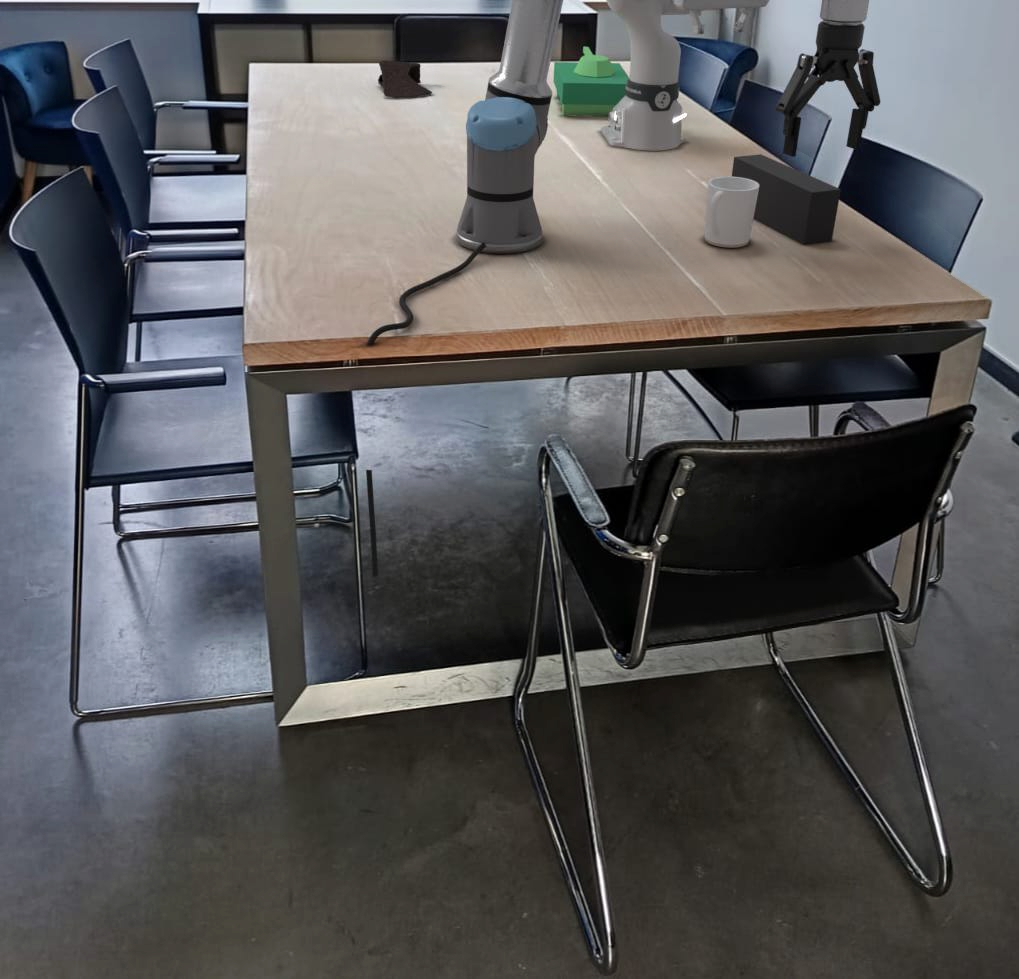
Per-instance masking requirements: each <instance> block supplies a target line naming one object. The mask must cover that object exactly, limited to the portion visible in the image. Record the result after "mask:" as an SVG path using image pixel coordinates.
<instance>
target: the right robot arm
mask: <svg viewBox="0 0 1019 979" xmlns="http://www.w3.org/2000/svg"><path fill="white" fill-rule="evenodd" d="M769 2H770V0H606V3H607V6H608V7H609V9H610V10H611V11H612V12H613V13H614V14H615V15H616V16H618V18H619V19H620V20H621V22H622V23H623V25H624V27H625V29H626V31H627V35H628V39H629V44H630V64H629V79H627V83H626V84H627V85H626V87H625V88H626V89H625V96H624V97H623V98H622V99H621V101H620V102H619V103H618V104H617V105H616V106H615V107H614V108H613V110H612V112H609V115H608V116H607V118H608V119H607V120H608V123H610V124H609V125H605V126H602V127H601V128H600V132H601V134H602V135H603V136H604V138H605V139H606V141H607V143H608V144H609V145H610V146H612V147H617V148H627V149H632V150H639V151H668V150H672V149H673V150H674V149H676V148H678V147H679V146H680V145H681V144H683V143H686V142H687V141H686V140H687V138H686V136H685V135H682V131H683V130H682V129H683V119H684V118H686V117H687V113H686V112H684V113H683V106H682V105H681V103H679V101H678V99H679V98H680V97H679V95H680V90H681V89H680V81H679V75H680V74H679V73H680V66H681V65H680V64H681V53H682V49H681V45H680V43H679V41H678V39H676V38H675V37H674V36H673V35H671V34H670V33H668V32H667V31H665V30H663V27H662V16H679V15H680V16H681V15H683V16H684V15H689V17H690V20H691V22H692V24H693V27H692V34H693V35H696V36H697V35H703V34H704V33H705V27H706V26H705V24H702V22H701V19H700V17H701V16H702V11H705V10H722V9H723V10H724V9H739V12H740V13H741V14H740V16H739V18H738V19H737V21H734V22H733V31H734V32H735V33H744V32H745V28H746V23H747V22H748V21H749V19H750V17H751V15H752V14H753V8H765V7H766V6H767V5H768V4H769Z"/></svg>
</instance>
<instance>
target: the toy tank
mask: <svg viewBox="0 0 1019 979" xmlns="http://www.w3.org/2000/svg"><path fill="white" fill-rule="evenodd" d="M582 53H583V55H582V56H581V57H580V59H579V60H578V61H577V62H576V61H575V62H574V61H554V62H553V84H554V87H555V90H556V98H558V99H559V101H560V104H561V113H562V116H579V117H581V116H589V117H590V116H593V117H594V116H596V117H598V116H599V117H608V115H609V112H612V110H613V108H614V107H615V106H616V105H617V104H618V103H619V102H620V101H621V99H622V98H623V97H624V96H625V89H626V88H625V87H626V85H627V84H626V83H627V79H629V78H630V76H629V75H628V73H627V72H626V71H625V69H624V67H623V66H622V65H621V63H620V62H611V59H610V58H609V57H607V56H605V55H599V54H593V52H592V51H591V49H590V47H589V46H583V47H582Z"/></svg>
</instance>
